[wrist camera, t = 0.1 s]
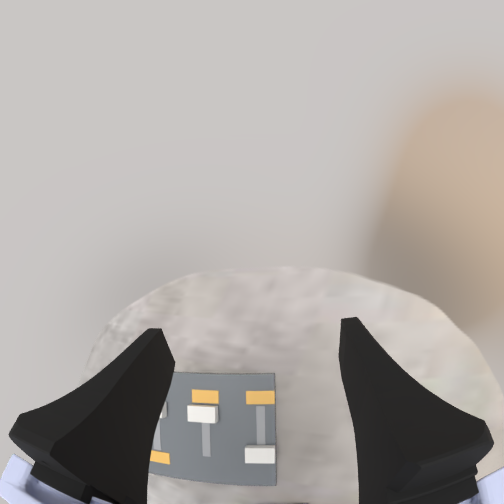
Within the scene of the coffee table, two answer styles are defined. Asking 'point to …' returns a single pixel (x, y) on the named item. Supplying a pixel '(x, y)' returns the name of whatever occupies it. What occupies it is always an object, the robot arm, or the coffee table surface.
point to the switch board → (217, 429)
